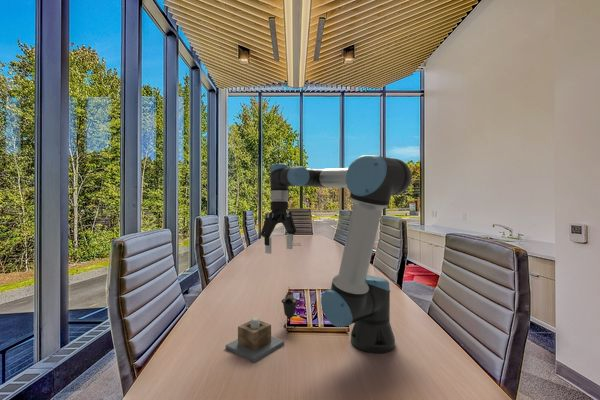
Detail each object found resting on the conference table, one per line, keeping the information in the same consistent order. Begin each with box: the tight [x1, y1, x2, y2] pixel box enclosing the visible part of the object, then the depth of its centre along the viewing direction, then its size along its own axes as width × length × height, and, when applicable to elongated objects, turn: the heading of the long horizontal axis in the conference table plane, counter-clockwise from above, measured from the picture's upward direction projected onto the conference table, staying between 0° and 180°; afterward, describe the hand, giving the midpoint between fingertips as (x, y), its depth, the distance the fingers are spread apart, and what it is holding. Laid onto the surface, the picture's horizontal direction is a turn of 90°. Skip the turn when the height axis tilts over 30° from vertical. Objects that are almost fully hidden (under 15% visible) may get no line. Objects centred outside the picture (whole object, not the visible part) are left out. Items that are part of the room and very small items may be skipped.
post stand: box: [225, 317, 285, 363], centre depth 102 cm, size 14×14×9 cm
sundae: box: [281, 287, 299, 329], centre depth 118 cm, size 7×7×15 cm
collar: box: [237, 320, 272, 351], centre depth 102 cm, size 8×8×6 cm
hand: (279, 251), depth 125 cm, fingers open, 13 cm apart
